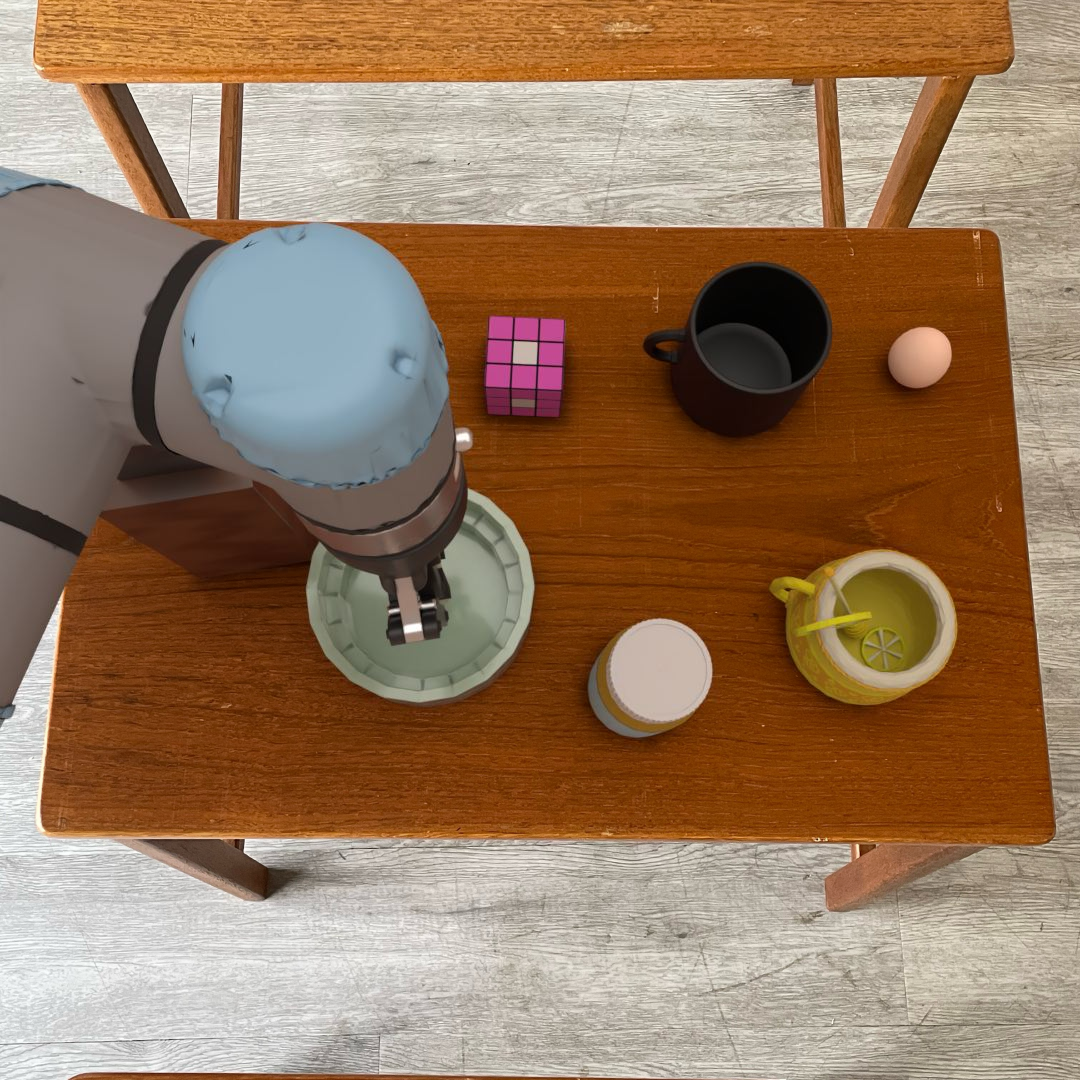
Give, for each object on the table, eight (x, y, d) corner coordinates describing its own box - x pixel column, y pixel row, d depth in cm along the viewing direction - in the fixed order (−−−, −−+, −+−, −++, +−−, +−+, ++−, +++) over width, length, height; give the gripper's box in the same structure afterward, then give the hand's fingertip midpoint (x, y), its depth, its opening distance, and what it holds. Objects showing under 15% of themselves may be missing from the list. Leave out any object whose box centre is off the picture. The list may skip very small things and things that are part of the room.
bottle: (613, 625, 77) (634, 591, 63) (697, 669, 77) (739, 644, 62) (570, 709, 76) (582, 694, 61) (656, 755, 75) (688, 750, 61)
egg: (942, 390, 82) (973, 362, 76) (889, 403, 82) (916, 376, 76) (924, 339, 83) (952, 308, 77) (871, 352, 82) (896, 321, 77)
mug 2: (945, 599, 78) (1020, 568, 66) (891, 732, 76) (959, 724, 64) (789, 526, 79) (836, 483, 67) (732, 655, 77) (769, 633, 65)
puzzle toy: (562, 349, 82) (565, 318, 76) (559, 417, 81) (562, 391, 75) (490, 345, 82) (488, 314, 76) (486, 414, 81) (484, 387, 75)
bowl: (337, 723, 75) (321, 719, 69) (311, 517, 79) (294, 497, 73) (548, 687, 76) (551, 680, 70) (514, 485, 80) (513, 462, 74)
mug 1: (640, 310, 83) (655, 250, 73) (799, 324, 83) (835, 266, 73) (631, 429, 81) (646, 384, 71) (795, 444, 81) (831, 400, 71)
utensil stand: (200, 578, 77) (52, 488, 53) (188, 464, 79) (41, 327, 55) (320, 559, 78) (229, 461, 54) (305, 446, 80) (211, 302, 56)
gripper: (489, 630, 44) (501, 680, 67) (438, 303, 47) (466, 459, 70) (311, 659, 43) (385, 700, 66) (271, 328, 46) (355, 476, 69)
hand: (427, 576), depth 68 cm, fingers closed on stirring stick, 2 cm apart
